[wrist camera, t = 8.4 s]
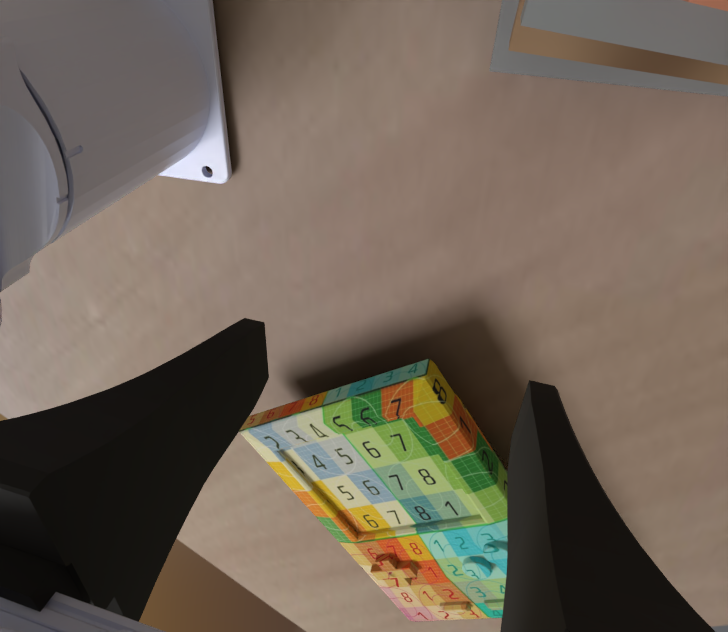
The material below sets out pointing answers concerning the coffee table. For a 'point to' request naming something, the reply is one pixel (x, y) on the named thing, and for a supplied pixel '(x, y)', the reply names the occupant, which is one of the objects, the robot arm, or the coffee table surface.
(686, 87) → the tower base slab
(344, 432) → the puzzle game
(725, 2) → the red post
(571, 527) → the robot arm
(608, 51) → the tower middle slab
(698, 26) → the tower top slab
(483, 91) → the coffee table surface
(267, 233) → the coffee table surface
